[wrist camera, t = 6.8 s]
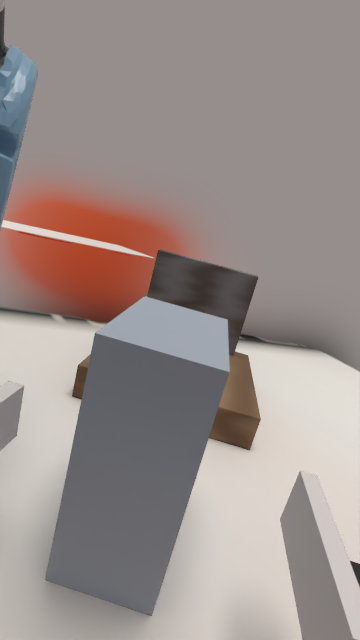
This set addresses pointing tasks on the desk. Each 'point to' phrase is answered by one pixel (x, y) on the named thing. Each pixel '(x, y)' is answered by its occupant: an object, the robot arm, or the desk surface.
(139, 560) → the slate gray rectangular prism
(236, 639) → the desk surface
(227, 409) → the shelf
